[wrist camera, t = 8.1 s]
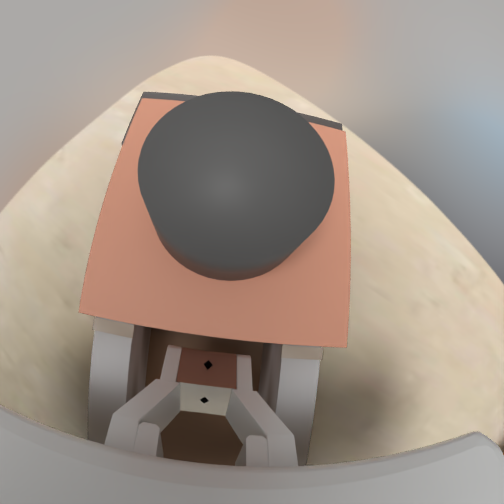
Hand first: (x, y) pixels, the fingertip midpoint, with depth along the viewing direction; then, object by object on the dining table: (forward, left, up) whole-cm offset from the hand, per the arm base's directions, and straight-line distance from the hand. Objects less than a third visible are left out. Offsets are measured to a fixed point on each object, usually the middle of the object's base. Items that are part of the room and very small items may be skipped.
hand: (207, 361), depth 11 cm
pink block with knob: (+3, +1, -5) cm, 6 cm away
